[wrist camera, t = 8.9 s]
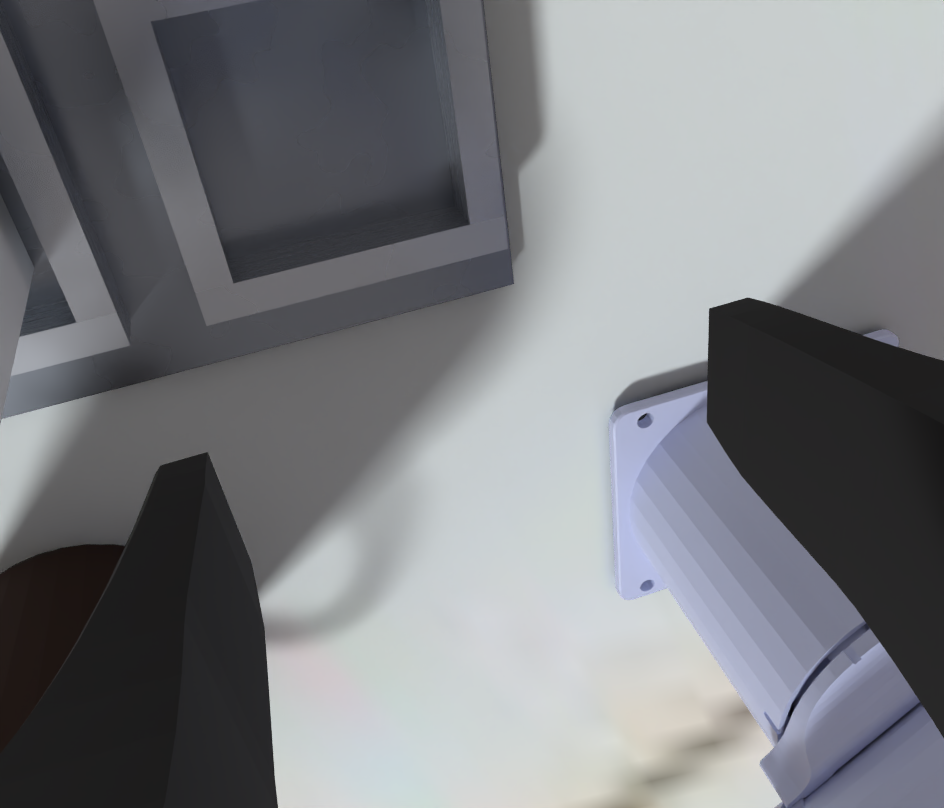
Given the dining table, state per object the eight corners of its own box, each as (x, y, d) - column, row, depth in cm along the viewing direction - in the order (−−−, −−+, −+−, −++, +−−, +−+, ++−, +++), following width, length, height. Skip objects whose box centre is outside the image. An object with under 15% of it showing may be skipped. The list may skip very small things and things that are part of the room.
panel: (451, -201, 17) (481, -200, 15) (506, 273, 23) (530, 305, 21) (-521, -41, 14) (-595, -22, 13) (-173, 450, 20) (-197, 501, 18)
